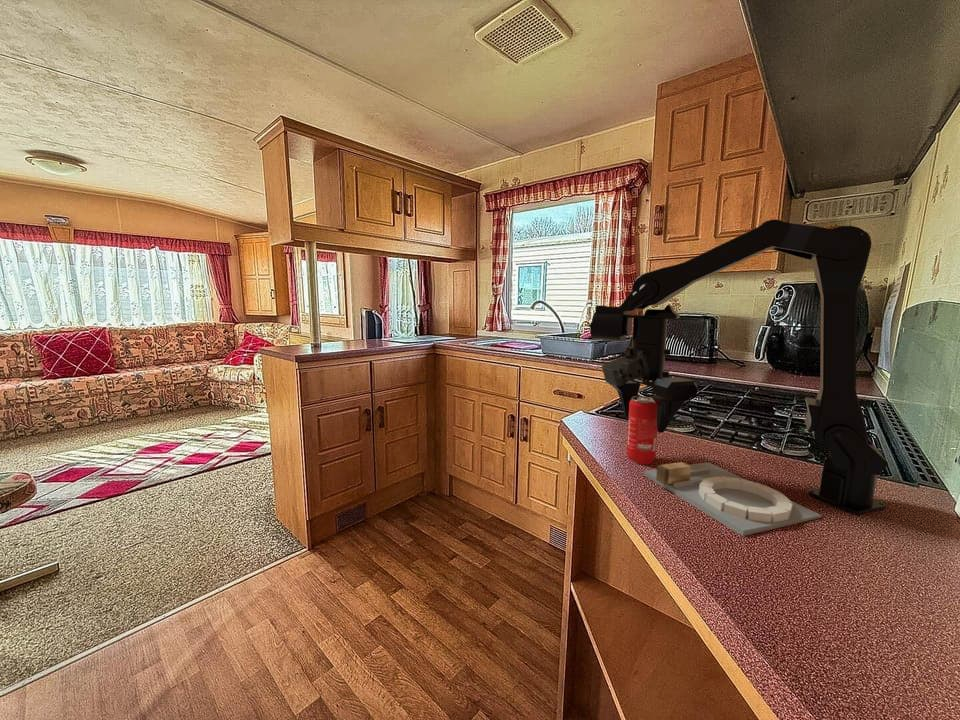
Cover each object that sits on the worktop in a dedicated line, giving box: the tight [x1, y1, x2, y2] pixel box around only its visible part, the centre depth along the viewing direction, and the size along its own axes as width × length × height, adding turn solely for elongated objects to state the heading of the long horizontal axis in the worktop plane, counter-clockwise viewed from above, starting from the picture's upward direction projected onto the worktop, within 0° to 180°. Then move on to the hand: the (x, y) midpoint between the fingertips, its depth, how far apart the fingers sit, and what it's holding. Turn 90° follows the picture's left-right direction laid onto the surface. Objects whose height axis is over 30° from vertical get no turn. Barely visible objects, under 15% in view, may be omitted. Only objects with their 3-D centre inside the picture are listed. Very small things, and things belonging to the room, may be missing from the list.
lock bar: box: [656, 461, 691, 485], centre depth 64 cm, size 5×2×2 cm, turn 106°
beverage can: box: [625, 395, 658, 465], centre depth 75 cm, size 5×5×12 cm
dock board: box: [643, 461, 822, 537], centre depth 62 cm, size 14×19×2 cm
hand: (643, 424), depth 75 cm, fingers open, 9 cm apart
